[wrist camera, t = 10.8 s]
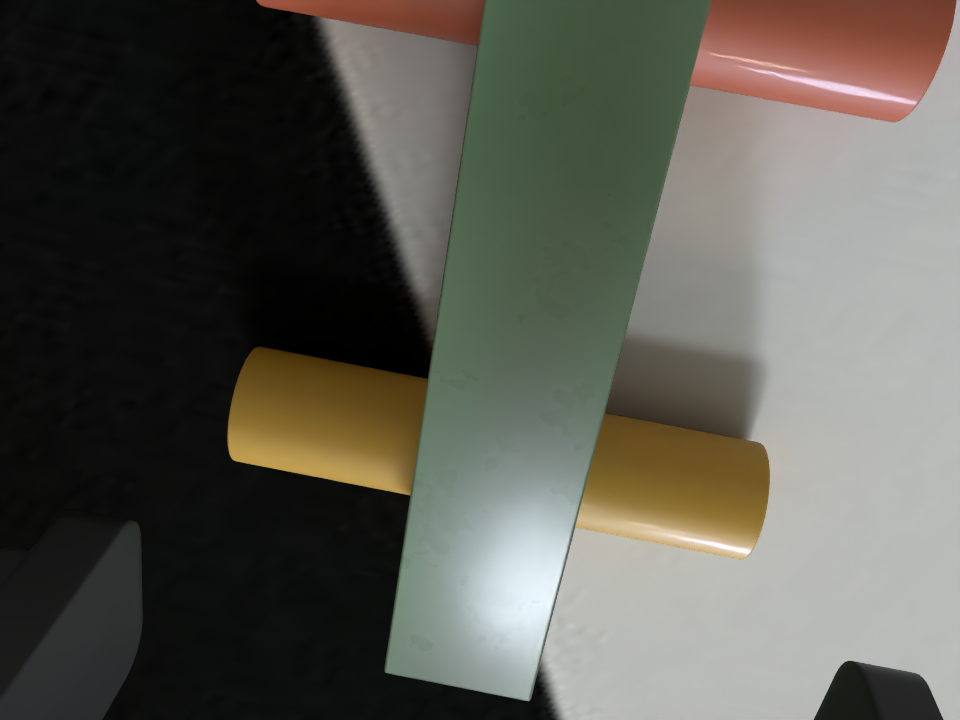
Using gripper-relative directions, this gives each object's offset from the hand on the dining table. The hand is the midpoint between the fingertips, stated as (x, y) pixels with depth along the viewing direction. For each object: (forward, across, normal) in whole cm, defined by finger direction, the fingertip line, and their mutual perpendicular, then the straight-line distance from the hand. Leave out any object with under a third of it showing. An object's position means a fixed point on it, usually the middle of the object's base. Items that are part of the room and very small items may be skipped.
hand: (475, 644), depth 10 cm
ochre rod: (+15, 0, +6) cm, 16 cm away
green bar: (+12, 0, 0) cm, 12 cm away
